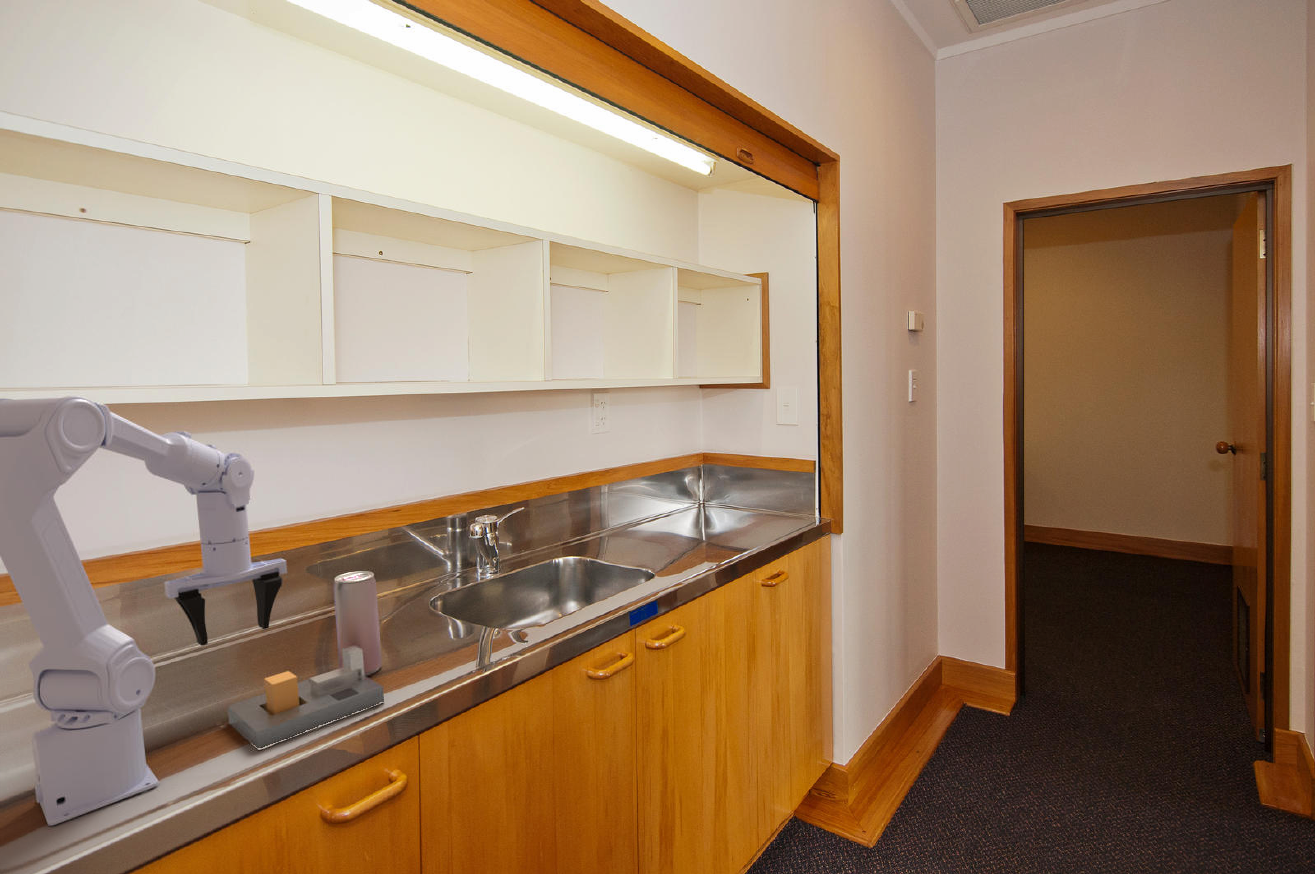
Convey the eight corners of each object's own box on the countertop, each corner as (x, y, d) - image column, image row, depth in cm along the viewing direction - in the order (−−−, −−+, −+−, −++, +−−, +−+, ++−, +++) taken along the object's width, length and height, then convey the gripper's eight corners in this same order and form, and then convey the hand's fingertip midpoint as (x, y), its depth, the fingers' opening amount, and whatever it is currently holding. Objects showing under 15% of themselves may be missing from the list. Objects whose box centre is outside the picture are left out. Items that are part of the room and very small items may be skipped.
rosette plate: (258, 751, 86) (256, 732, 86) (229, 723, 93) (227, 705, 93) (384, 703, 98) (383, 686, 97) (349, 681, 105) (348, 666, 105)
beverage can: (334, 671, 109) (326, 577, 108) (372, 660, 113) (365, 568, 112) (349, 682, 105) (341, 584, 103) (388, 670, 109) (381, 575, 108)
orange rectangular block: (276, 729, 91) (272, 684, 91) (268, 722, 93) (264, 678, 93) (300, 720, 93) (297, 676, 93) (292, 713, 96) (288, 671, 95)
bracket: (318, 695, 95) (315, 664, 95) (311, 690, 97) (308, 659, 96) (364, 679, 100) (362, 649, 99) (356, 675, 101) (354, 645, 101)
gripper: (271, 526, 105) (278, 614, 106) (154, 546, 94) (164, 644, 96) (289, 532, 100) (297, 624, 102) (168, 553, 90) (179, 656, 91)
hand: (234, 635), depth 98 cm, fingers open, 7 cm apart
